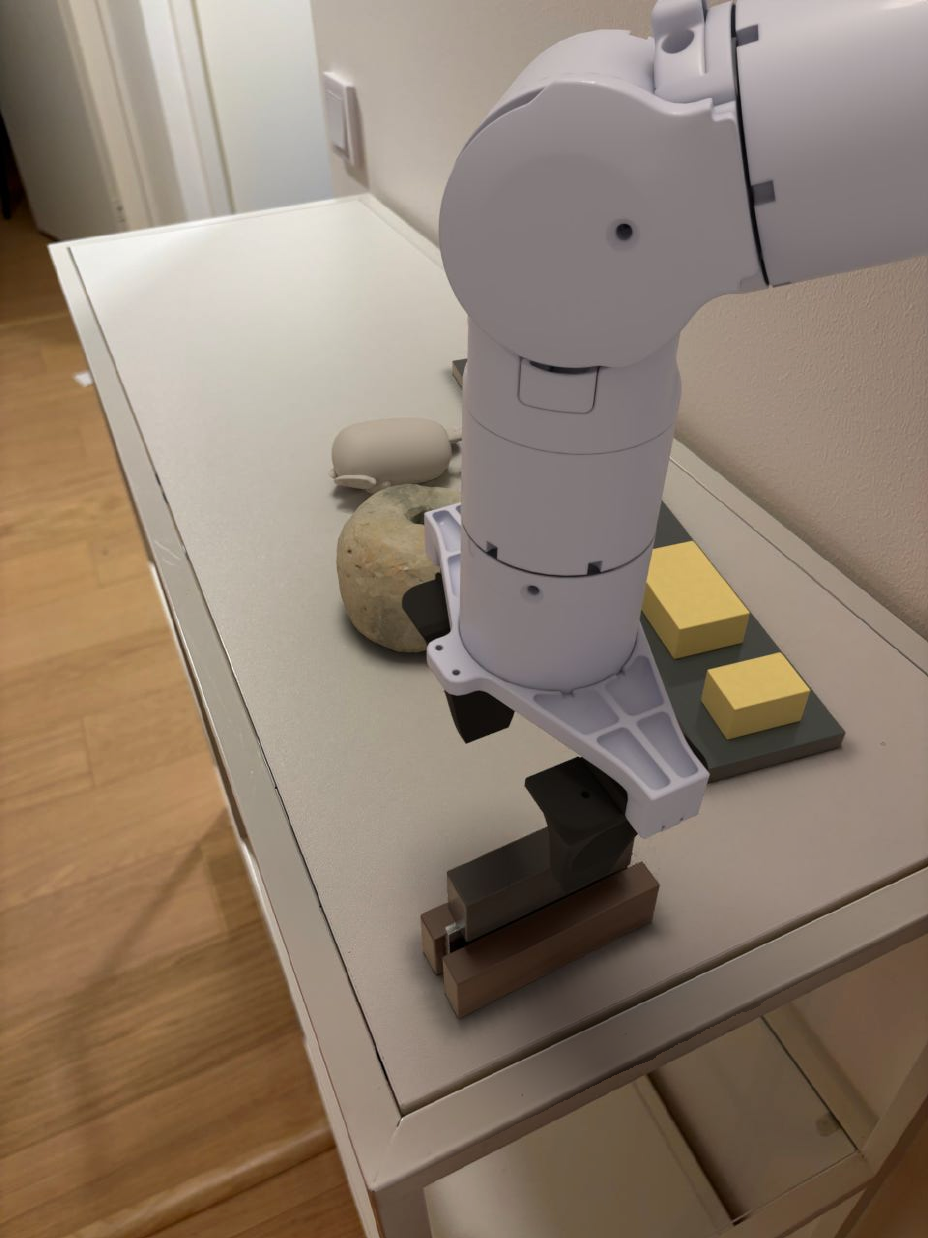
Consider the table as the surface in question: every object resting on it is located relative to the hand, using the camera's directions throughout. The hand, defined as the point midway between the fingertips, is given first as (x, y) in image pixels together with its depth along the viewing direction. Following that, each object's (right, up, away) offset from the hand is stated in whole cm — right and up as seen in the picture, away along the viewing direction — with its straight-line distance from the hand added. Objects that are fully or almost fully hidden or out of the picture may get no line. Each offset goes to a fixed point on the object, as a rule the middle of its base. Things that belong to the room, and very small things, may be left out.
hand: (530, 798), depth 38 cm
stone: (-5, +7, +23) cm, 25 cm away
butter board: (+7, +14, +30) cm, 34 cm away
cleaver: (+1, -7, +7) cm, 10 cm away
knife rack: (+1, -7, +7) cm, 10 cm away
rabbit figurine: (-6, +17, +34) cm, 39 cm away
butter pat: (+13, +2, +15) cm, 20 cm away
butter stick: (+10, +7, +21) cm, 24 cm away
